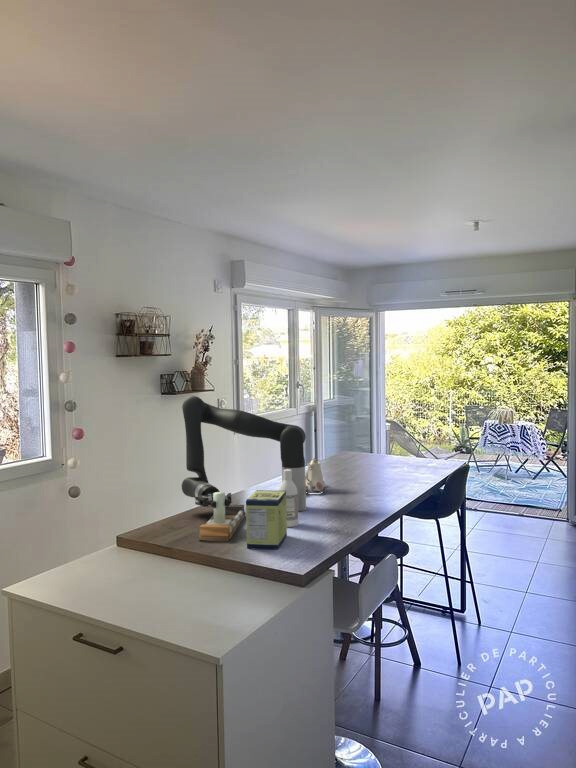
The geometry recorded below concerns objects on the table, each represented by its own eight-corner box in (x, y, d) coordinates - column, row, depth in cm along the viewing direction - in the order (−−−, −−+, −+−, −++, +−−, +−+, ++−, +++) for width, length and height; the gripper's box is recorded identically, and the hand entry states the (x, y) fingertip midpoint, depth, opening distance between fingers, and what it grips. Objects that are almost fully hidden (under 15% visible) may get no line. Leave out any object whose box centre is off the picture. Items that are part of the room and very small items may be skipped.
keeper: (211, 525, 207) (211, 491, 206) (231, 525, 206) (230, 491, 206) (207, 529, 201) (207, 495, 200) (228, 530, 200) (227, 495, 200)
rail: (219, 515, 226) (219, 504, 226) (245, 516, 225) (244, 504, 225) (198, 541, 194) (198, 527, 194) (228, 541, 193) (228, 527, 193)
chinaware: (305, 488, 281) (301, 453, 281) (337, 487, 274) (333, 451, 274) (279, 501, 256) (275, 463, 256) (314, 500, 248) (309, 461, 249)
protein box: (287, 535, 199) (286, 490, 198) (278, 550, 183) (277, 500, 183) (257, 534, 201) (256, 489, 200) (246, 548, 185) (245, 500, 185)
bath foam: (301, 526, 210) (300, 470, 209) (284, 528, 207) (283, 472, 206) (293, 521, 216) (292, 467, 215) (275, 524, 213) (274, 469, 212)
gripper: (188, 486, 213) (201, 495, 198) (225, 482, 219) (241, 491, 203) (188, 506, 213) (201, 517, 198) (226, 502, 219) (241, 512, 204)
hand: (221, 504), depth 201 cm, fingers closed on keeper, 4 cm apart
